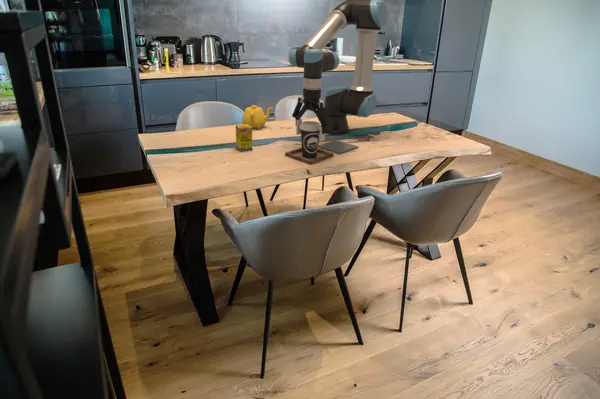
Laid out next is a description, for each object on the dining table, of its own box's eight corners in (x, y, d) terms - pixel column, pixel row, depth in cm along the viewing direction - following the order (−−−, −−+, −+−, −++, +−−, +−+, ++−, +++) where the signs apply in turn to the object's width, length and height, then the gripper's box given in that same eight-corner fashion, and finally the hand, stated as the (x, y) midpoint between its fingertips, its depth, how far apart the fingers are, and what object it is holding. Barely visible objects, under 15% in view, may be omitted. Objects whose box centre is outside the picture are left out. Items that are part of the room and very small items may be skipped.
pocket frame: (285, 155, 195) (285, 152, 194) (308, 148, 205) (308, 145, 204) (310, 164, 185) (310, 161, 185) (333, 156, 196) (333, 153, 195)
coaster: (316, 147, 207) (317, 145, 206) (335, 141, 216) (335, 139, 216) (340, 154, 198) (340, 152, 198) (358, 148, 208) (358, 146, 207)
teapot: (253, 132, 226) (253, 110, 221) (236, 127, 235) (235, 105, 230) (273, 128, 235) (273, 106, 230) (256, 122, 244) (255, 101, 239)
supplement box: (240, 151, 198) (239, 128, 193) (236, 148, 203) (235, 125, 198) (252, 150, 200) (252, 127, 196) (248, 146, 205) (247, 123, 201)
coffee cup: (323, 154, 197) (325, 122, 191) (315, 161, 189) (316, 127, 183) (304, 151, 201) (305, 119, 194) (295, 157, 193) (296, 124, 187)
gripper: (284, 84, 187) (284, 132, 196) (329, 94, 172) (326, 145, 181) (296, 82, 193) (295, 129, 201) (341, 91, 177) (337, 141, 186)
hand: (310, 137), depth 191 cm, fingers open, 13 cm apart
